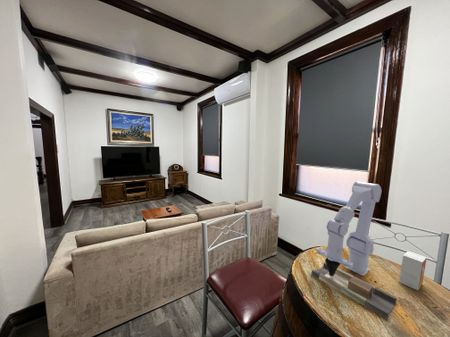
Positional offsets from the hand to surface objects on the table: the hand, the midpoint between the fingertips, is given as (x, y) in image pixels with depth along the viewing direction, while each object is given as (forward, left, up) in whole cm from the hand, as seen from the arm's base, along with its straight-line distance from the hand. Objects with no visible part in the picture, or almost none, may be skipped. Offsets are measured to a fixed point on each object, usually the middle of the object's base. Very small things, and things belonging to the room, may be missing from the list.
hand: (331, 275), depth 84 cm
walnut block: (0, +11, -1) cm, 11 cm away
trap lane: (0, +7, -2) cm, 8 cm away
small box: (-29, +22, -2) cm, 36 cm away
